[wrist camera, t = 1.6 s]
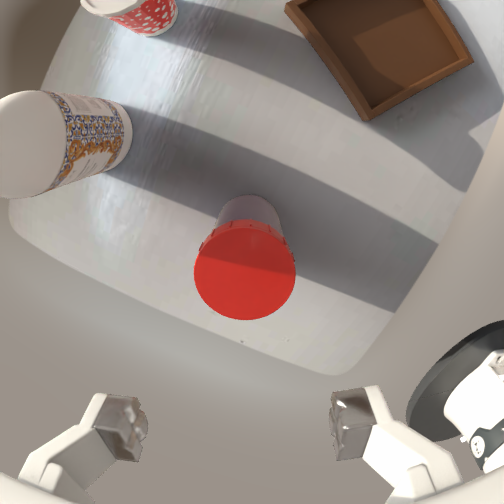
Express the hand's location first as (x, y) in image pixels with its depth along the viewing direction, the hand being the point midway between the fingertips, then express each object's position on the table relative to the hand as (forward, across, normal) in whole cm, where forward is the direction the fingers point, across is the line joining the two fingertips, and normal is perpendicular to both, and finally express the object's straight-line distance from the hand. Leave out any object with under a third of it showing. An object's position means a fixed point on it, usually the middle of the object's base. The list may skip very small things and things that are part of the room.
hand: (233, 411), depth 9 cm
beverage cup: (+21, +7, -21) cm, 31 cm away
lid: (+10, 0, 0) cm, 11 cm away
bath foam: (+21, +13, -10) cm, 27 cm away
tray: (+21, -14, -18) cm, 31 cm away
